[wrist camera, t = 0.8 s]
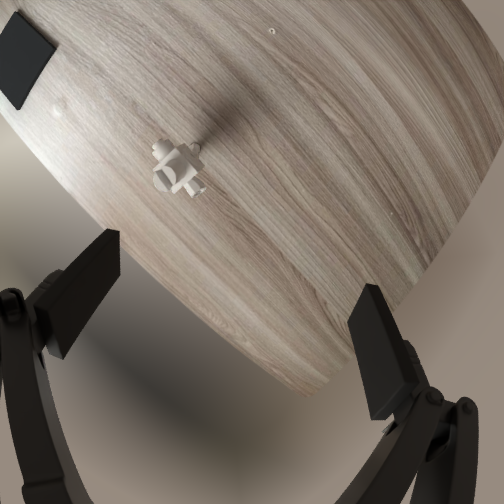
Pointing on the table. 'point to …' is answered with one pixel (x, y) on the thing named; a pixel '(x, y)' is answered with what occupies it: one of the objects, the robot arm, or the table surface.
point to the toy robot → (177, 167)
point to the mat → (21, 58)
